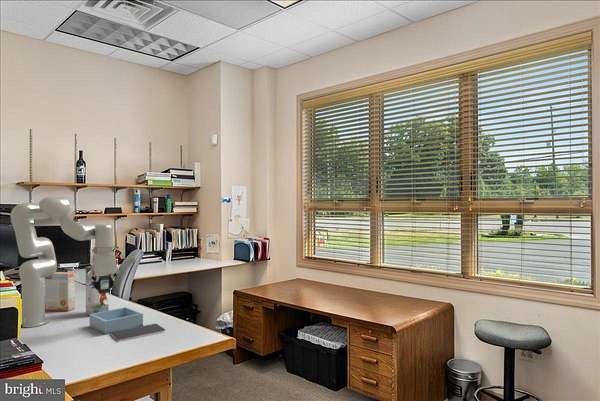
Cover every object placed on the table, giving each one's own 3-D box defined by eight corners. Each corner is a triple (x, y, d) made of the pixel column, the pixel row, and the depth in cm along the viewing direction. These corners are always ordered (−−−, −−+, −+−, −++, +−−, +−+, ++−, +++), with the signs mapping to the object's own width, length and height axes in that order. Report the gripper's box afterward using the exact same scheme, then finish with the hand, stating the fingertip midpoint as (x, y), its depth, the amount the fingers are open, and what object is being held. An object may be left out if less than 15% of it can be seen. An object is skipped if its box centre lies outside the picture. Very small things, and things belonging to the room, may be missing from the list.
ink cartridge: (99, 293, 195) (98, 276, 195) (98, 293, 197) (97, 276, 197) (110, 292, 198) (110, 275, 198) (109, 291, 200) (108, 274, 200)
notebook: (156, 326, 204) (109, 335, 190) (156, 323, 204) (109, 332, 190) (166, 333, 194) (117, 343, 180) (166, 329, 194) (117, 339, 180)
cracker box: (75, 308, 235) (75, 271, 235) (68, 311, 229) (67, 273, 228) (51, 308, 236) (51, 271, 236) (44, 311, 230) (44, 273, 230)
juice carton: (83, 315, 221) (82, 264, 221) (98, 310, 231) (97, 261, 231) (96, 316, 219) (96, 265, 218) (111, 311, 229) (110, 262, 229)
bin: (105, 334, 190) (105, 321, 190) (89, 326, 202) (89, 314, 202) (143, 325, 203) (142, 313, 203) (126, 318, 215) (126, 306, 215)
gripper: (87, 252, 189) (87, 292, 189) (125, 249, 201) (125, 287, 201) (81, 251, 194) (81, 290, 194) (118, 248, 206) (118, 284, 206)
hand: (104, 288), depth 197 cm, fingers closed on ink cartridge, 5 cm apart
